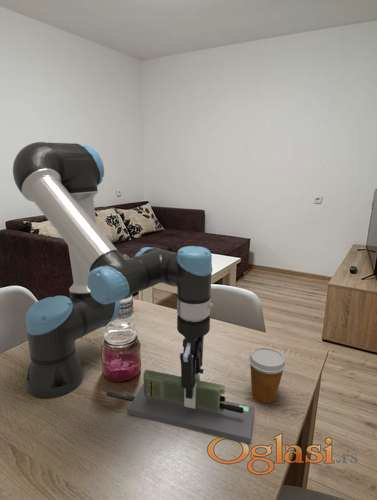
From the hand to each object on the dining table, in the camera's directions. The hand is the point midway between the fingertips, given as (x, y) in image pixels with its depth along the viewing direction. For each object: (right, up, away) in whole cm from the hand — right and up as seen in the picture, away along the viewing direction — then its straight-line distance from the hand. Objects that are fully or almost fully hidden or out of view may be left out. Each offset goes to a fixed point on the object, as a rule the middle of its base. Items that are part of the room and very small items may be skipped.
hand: (191, 401), depth 81 cm
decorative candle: (-27, +11, +50) cm, 58 cm away
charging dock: (-4, -3, +2) cm, 6 cm away
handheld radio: (0, -1, 0) cm, 1 cm away
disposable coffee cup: (+19, -2, +8) cm, 21 cm away
